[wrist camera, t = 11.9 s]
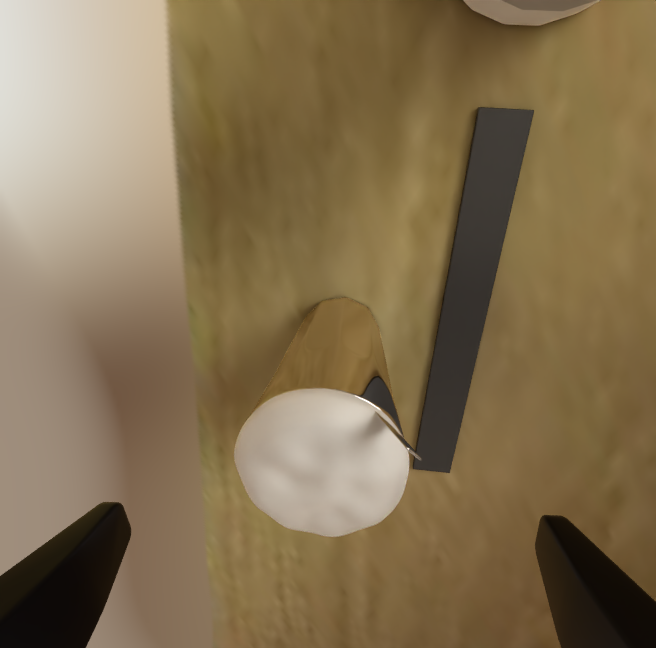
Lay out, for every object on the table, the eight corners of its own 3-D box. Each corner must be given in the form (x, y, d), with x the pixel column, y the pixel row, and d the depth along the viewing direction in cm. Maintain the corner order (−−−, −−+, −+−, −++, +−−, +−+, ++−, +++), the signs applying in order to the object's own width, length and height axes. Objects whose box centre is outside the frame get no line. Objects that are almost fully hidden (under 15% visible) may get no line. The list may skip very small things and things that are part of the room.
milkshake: (430, 318, 18) (492, 517, 9) (343, 393, 20) (320, 618, 11) (352, 244, 17) (329, 383, 8) (268, 331, 19) (172, 522, 10)
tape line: (449, 470, 21) (449, 473, 21) (412, 466, 21) (412, 469, 21) (532, 110, 14) (534, 110, 14) (478, 107, 14) (479, 107, 14)
